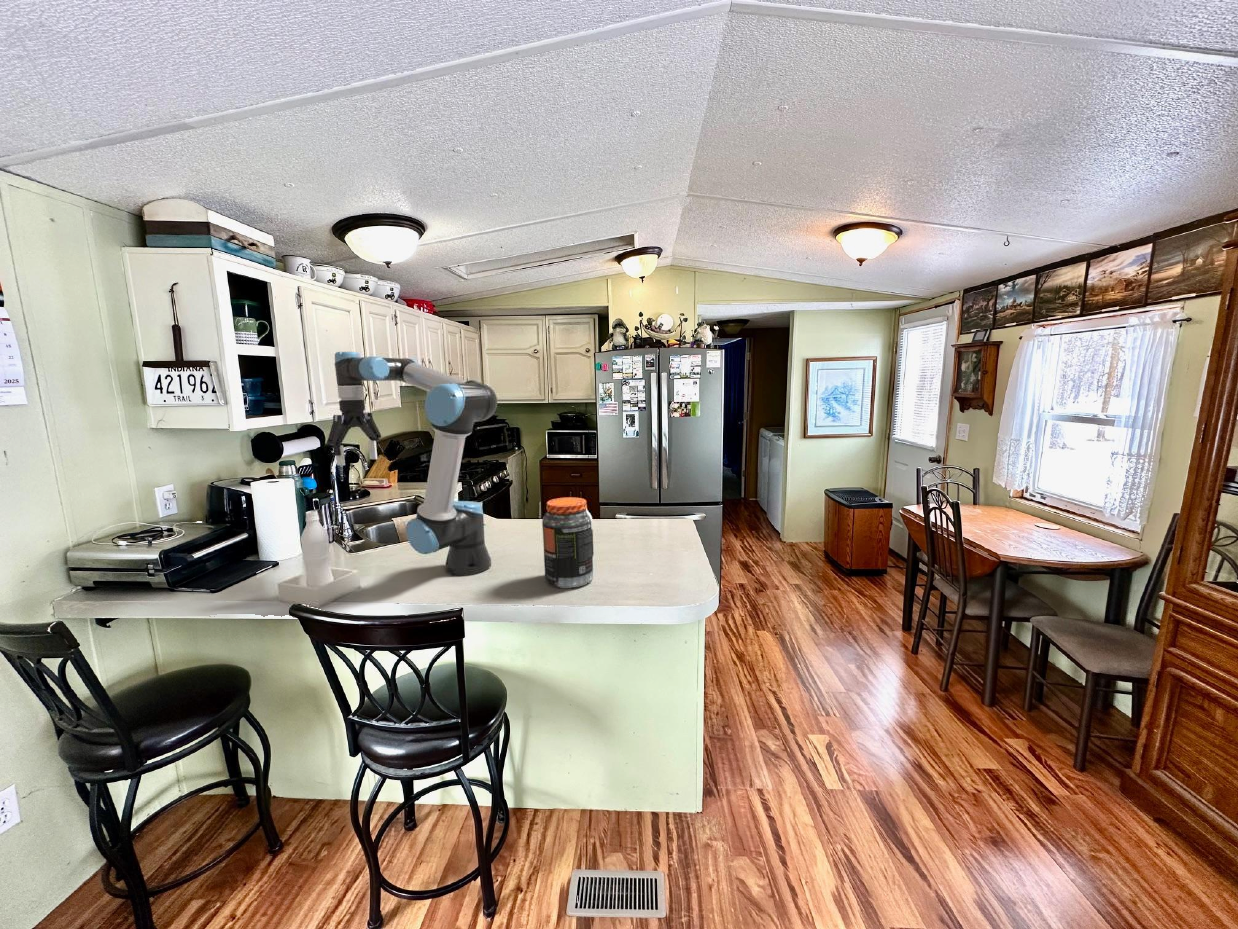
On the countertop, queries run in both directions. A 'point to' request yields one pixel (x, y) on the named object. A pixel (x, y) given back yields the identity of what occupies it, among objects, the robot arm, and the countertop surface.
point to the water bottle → (316, 552)
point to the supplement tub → (568, 543)
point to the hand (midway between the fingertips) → (357, 462)
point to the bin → (319, 588)
